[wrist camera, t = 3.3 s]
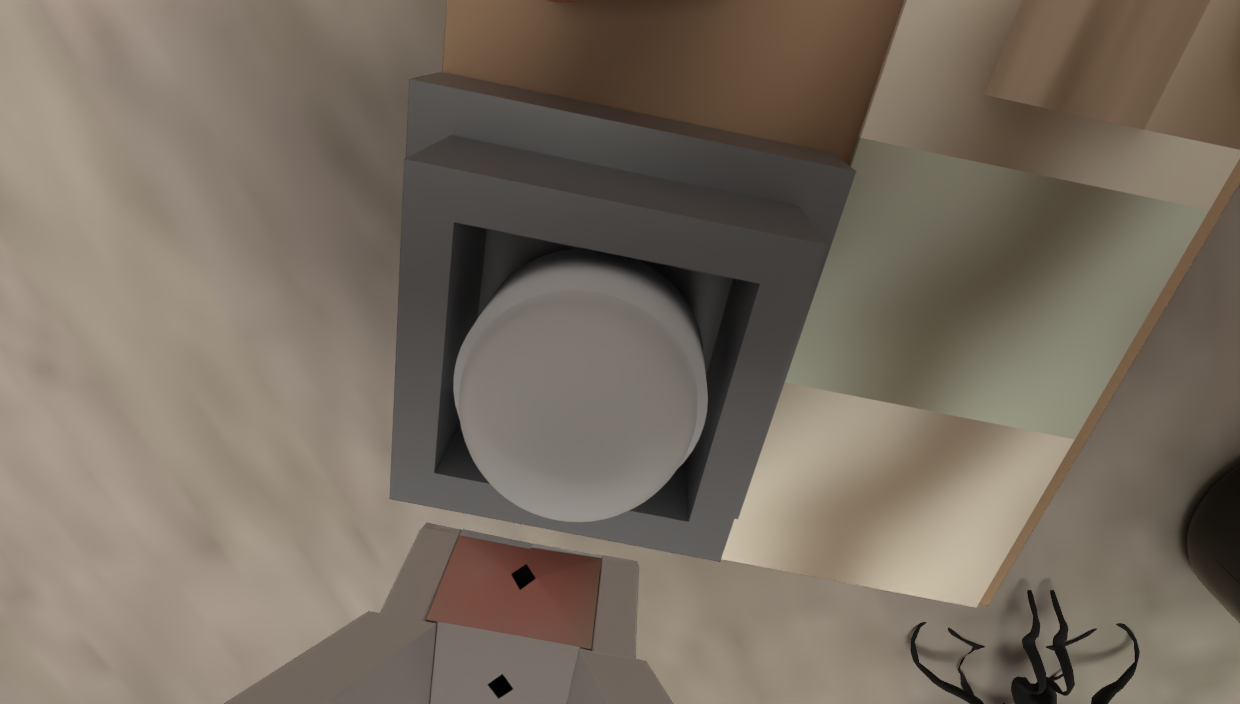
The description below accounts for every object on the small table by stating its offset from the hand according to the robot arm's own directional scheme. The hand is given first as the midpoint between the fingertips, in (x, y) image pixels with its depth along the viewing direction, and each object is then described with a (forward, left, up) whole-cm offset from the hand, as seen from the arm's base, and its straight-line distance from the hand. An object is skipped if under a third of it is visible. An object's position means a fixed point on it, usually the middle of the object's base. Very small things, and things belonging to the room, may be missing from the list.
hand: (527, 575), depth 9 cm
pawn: (-10, -9, -11) cm, 17 cm away
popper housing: (0, 0, -11) cm, 11 cm away
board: (-5, -2, -11) cm, 13 cm away
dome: (0, 0, -7) cm, 7 cm away
